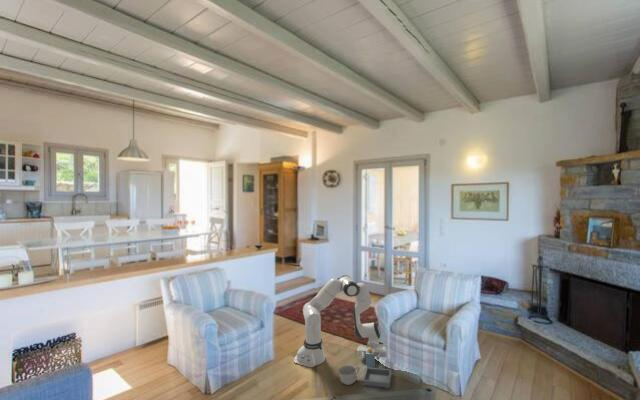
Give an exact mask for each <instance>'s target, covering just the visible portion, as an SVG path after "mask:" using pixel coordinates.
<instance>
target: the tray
mask: <svg viewBox="0 0 640 400" xmlns="http://www.w3.org/2000/svg"><path fill="white" fill-rule="evenodd" d="M392 374H393V373H392V369H391V368H379V367H375V368H370V367H367V366H366V367H365V371H364V374H363V379H362V386H363V387H368V388H369V387H370V388H378V389H386V388H389V389H388V390H390V389H391V383H392Z"/></svg>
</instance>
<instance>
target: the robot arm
mask: <svg viewBox="0 0 640 400" xmlns="http://www.w3.org/2000/svg"><path fill="white" fill-rule="evenodd" d="M341 292H342V293H343V294H345V295H346V296H347V297H354V299H355V304H354V305H353V309H352V311H353V312H352V313H353V323H354V336H355V337H357V338H358V339H361V340H362V339H365V338H368V341H367V343H366V345H363V344H362V345H361V344H360V345H358V347H357V349H356V350H357V351H356V353H357V355H358V356H361V357H362V359H366V350H367V349H368V348H369V347H370V348H372V350H374V354H375V357H376V360H380V358H387V355H388V354H387V348H386V344H385V343H384V342H381V340H382V337H381V336H382V332H381V328H380V326H379V324H377V322H368V323H361V319H360V318H361V317H360V314H361V313H363V312H365V311H366V310H368V309H369V308H370V306H371V305H372V298H371V294H370V291H369V289H368V287H367V285H366V284H365V283H364V282H358V283H356V282H355V280H354V279H353V278H352V277H351V276H349V275H341V276H340V277H337V278H334V277H332V278H331V279H329V280H328V281H327V282H326V283H325V284H324V285H323V286H322V288H321V289H320V290H319V292H318V293H317V294H316V295H315V296H314V297H313V298H312V299H311V300H310V301H308V302H306V303H305V304H304V305H303V307H302V314H303V318H304V324H305V325H304V326H305V327H304V329H305V339H304V341H303V343H302V344H303V345H302V346H301V347H300V348H298V350H297V352H296V355H295V357H294V358H293V359H294V360H293V362H295V363H294V364H296V363H297V364H296V365H301V366H304V367H309V368H314V367H316V366H318V365H321V364H323V363H324V362H325V361H326V356H325V353H324V349H323V348H324V347H323V346H324V345H323V338H322V330H321V328H322V327H321V326H322V319H321V318H322V317H321V311H322V310H324V309H325V308H327V307H329V305H330V304H331V303H332V302H333V301H334V299H335V298H336V296H337V295H338V294H339V293H341Z"/></svg>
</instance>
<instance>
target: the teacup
mask: <svg viewBox="0 0 640 400" xmlns="http://www.w3.org/2000/svg"><path fill="white" fill-rule="evenodd" d="M359 372H360V367H359V366H358V365H356V366H354V365H350V364H349V365H343V366H341V367H340V368H339V369H338V375H339V380H340V382H341V383H342V384H343V385H345V386H351V385H353V384H354V383H355V382H356V380H357V374H359Z"/></svg>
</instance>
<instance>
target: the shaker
mask: <svg viewBox="0 0 640 400" xmlns="http://www.w3.org/2000/svg"><path fill="white" fill-rule="evenodd" d="M375 357H376V356H375V354H374V350H372V352H368V349H367V350H366V356H365V363H366V367H370V368H376V359H375Z"/></svg>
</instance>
